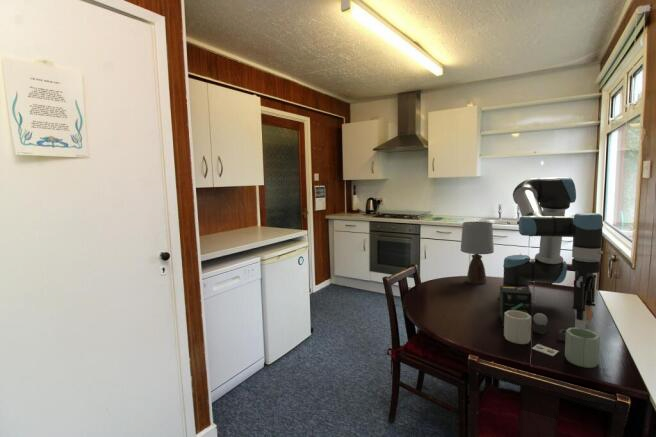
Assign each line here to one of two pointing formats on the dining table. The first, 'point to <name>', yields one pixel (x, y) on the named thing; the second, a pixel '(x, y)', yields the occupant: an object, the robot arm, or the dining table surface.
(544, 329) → the cradle grey
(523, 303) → the tampon box
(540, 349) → the card
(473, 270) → the lamp
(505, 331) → the beaker cream
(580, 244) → the robot arm
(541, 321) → the grey ball
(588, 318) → the terracotta ball
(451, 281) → the dining table surface
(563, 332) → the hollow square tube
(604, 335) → the dining table surface
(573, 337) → the beaker sage
